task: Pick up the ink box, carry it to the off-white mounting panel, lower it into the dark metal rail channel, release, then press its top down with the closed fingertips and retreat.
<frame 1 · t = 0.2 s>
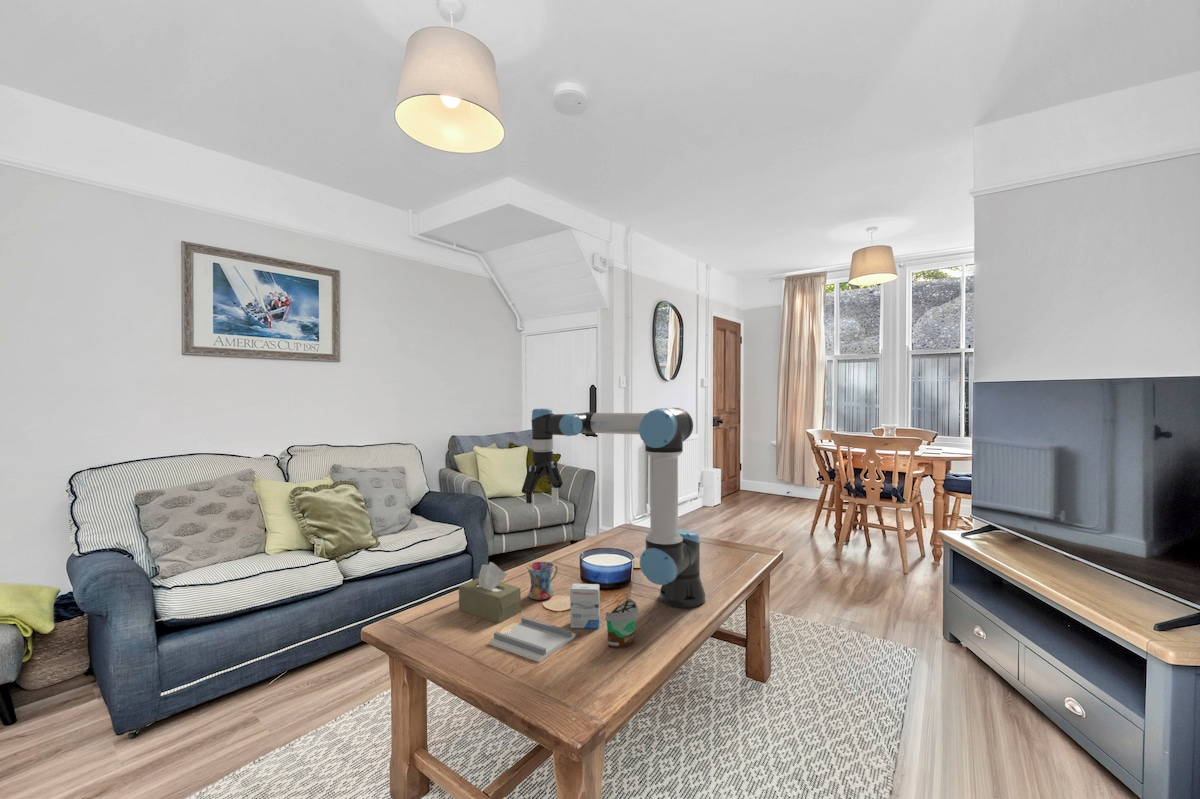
hand: (543, 508, 187), 28 cm above the table, fingers open, 13 cm apart
mug: (544, 596, 176), on the table
food container: (626, 643, 142), on the table
tissue box: (489, 612, 164), on the table
rail mount: (532, 640, 144), on the table
ink box: (585, 625, 153), on the table
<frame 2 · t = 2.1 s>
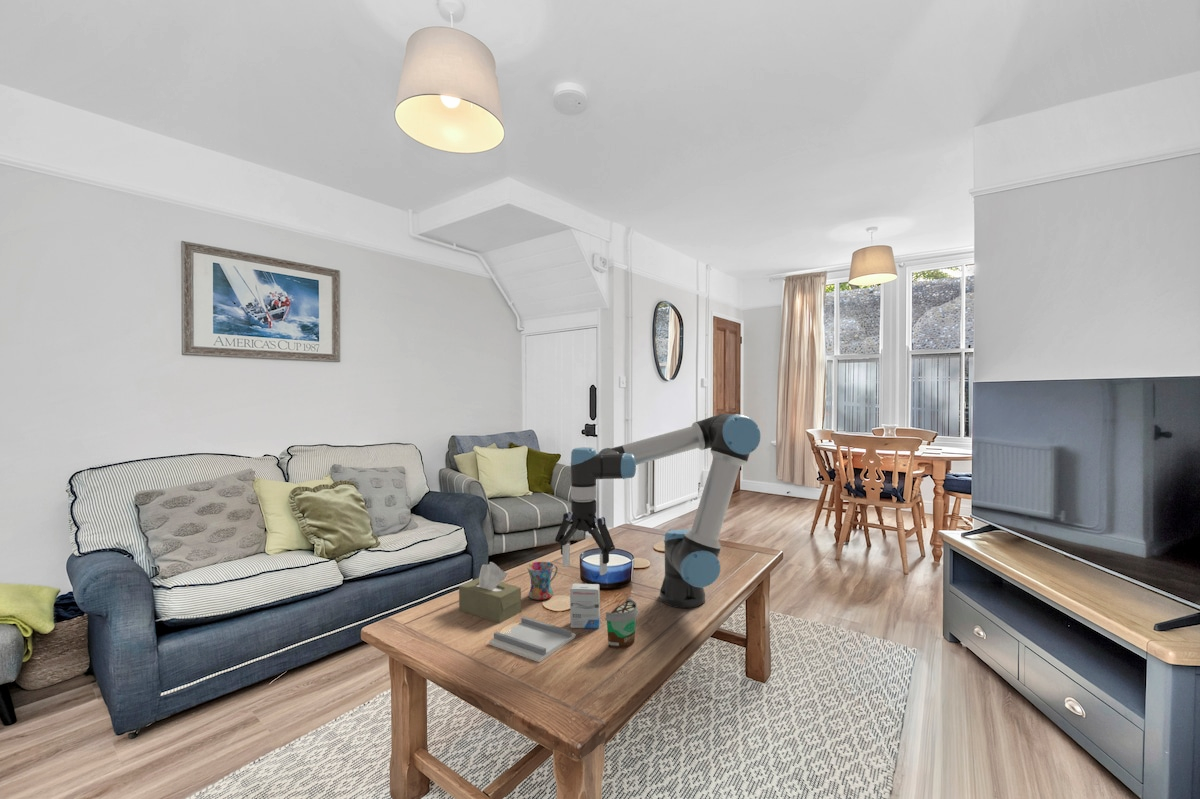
hand: (584, 569, 153), 17 cm above the table, fingers open, 13 cm apart
nothing on the table moved.
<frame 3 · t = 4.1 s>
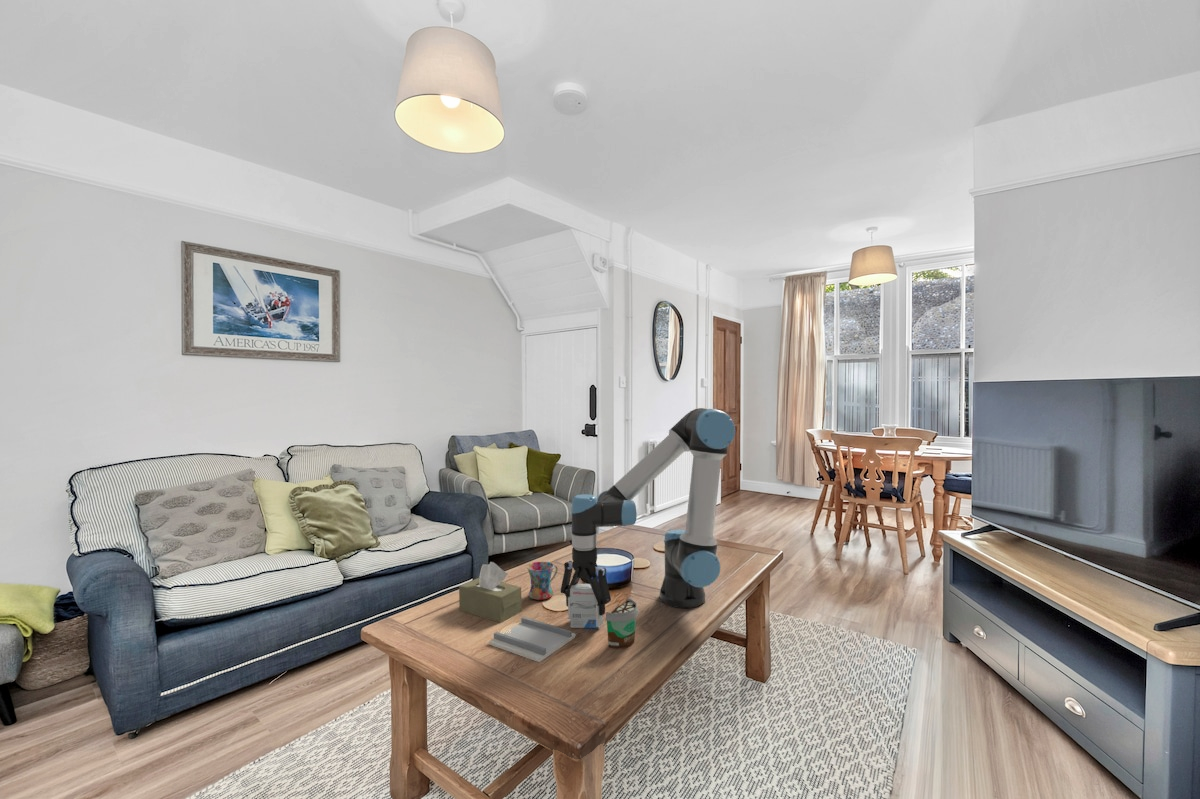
hand: (585, 621, 153), 1 cm above the table, fingers closed on ink box, 9 cm apart
ink box: (585, 625, 153), on the table, touching gripper
everything else where it was.
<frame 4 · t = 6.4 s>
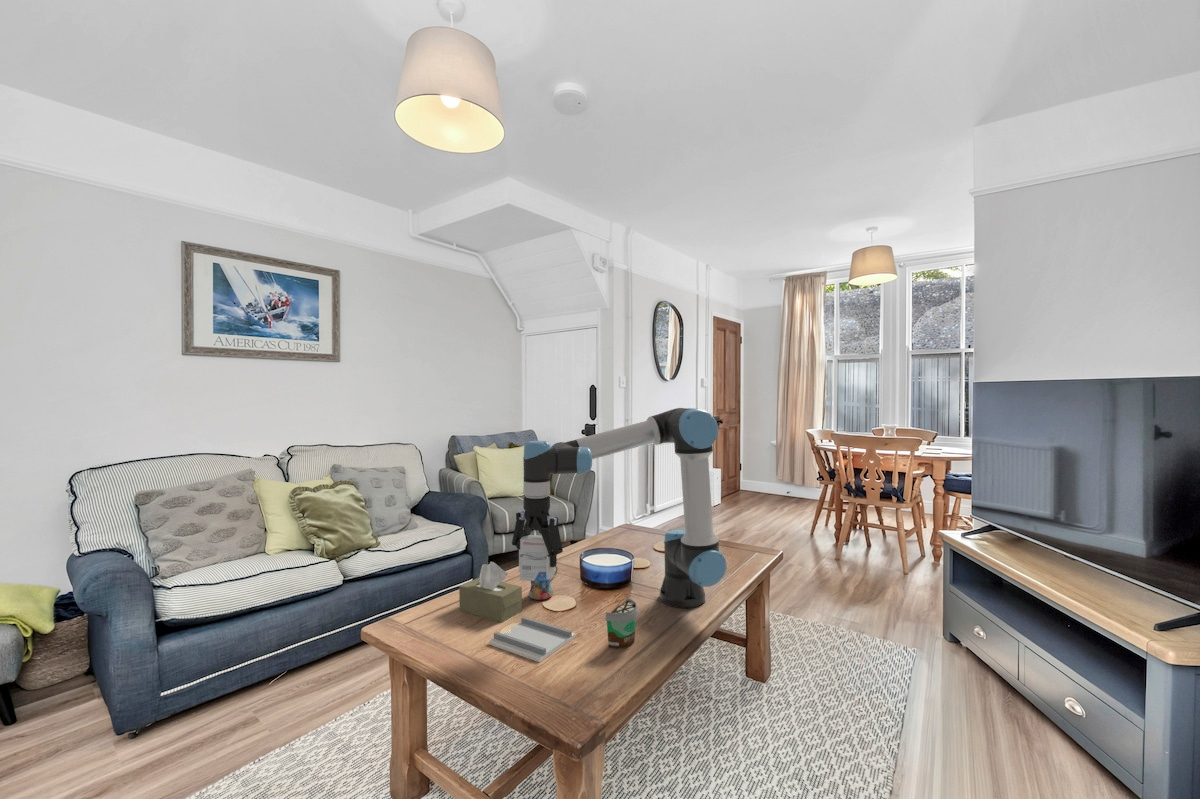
hand: (536, 574, 145), 18 cm above the table, fingers closed on ink box, 9 cm apart
ink box: (536, 578, 145), point 17 cm above the table, touching gripper
everything else where it was.
when the fingers open (4 cm above the table, at t = 9.1 s): ink box drops 2 cm, resting on rail mount.
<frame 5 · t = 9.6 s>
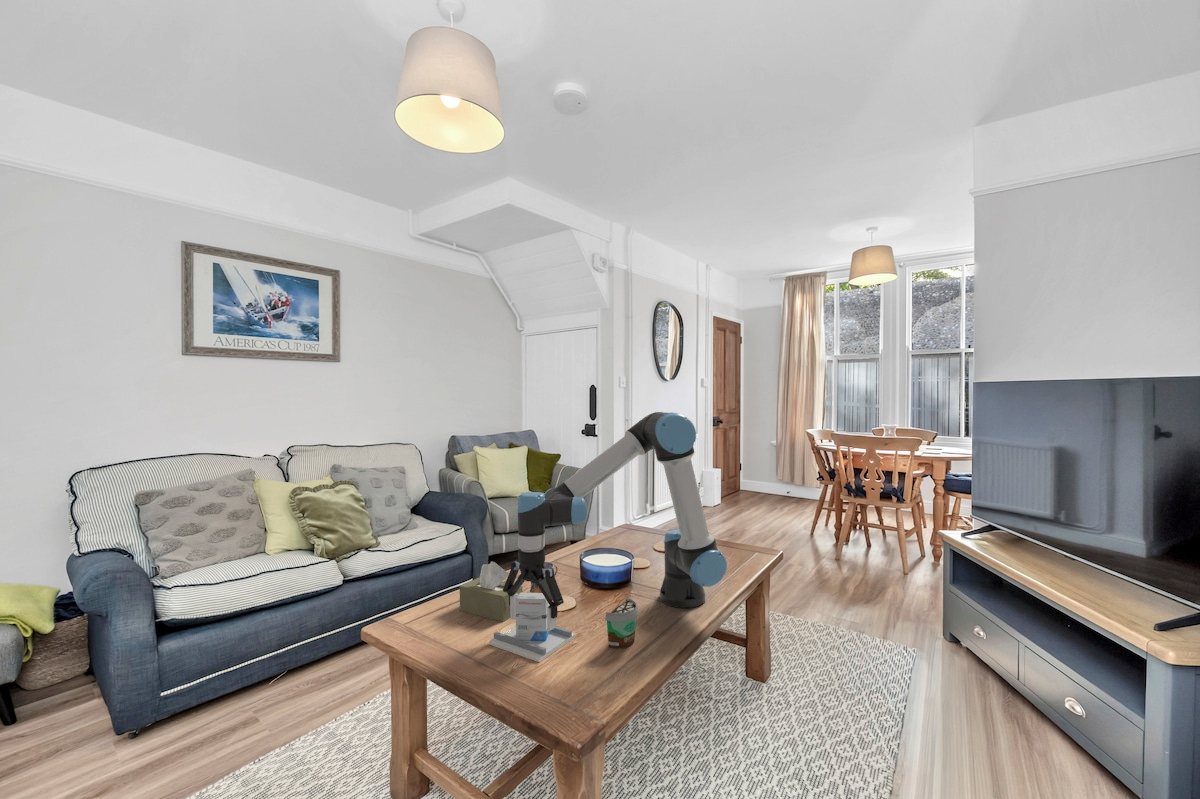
hand: (532, 623, 144), 5 cm above the table, fingers open, 13 cm apart
ink box: (532, 637, 144), point 1 cm above the table, touching rail mount
everything else where it was.
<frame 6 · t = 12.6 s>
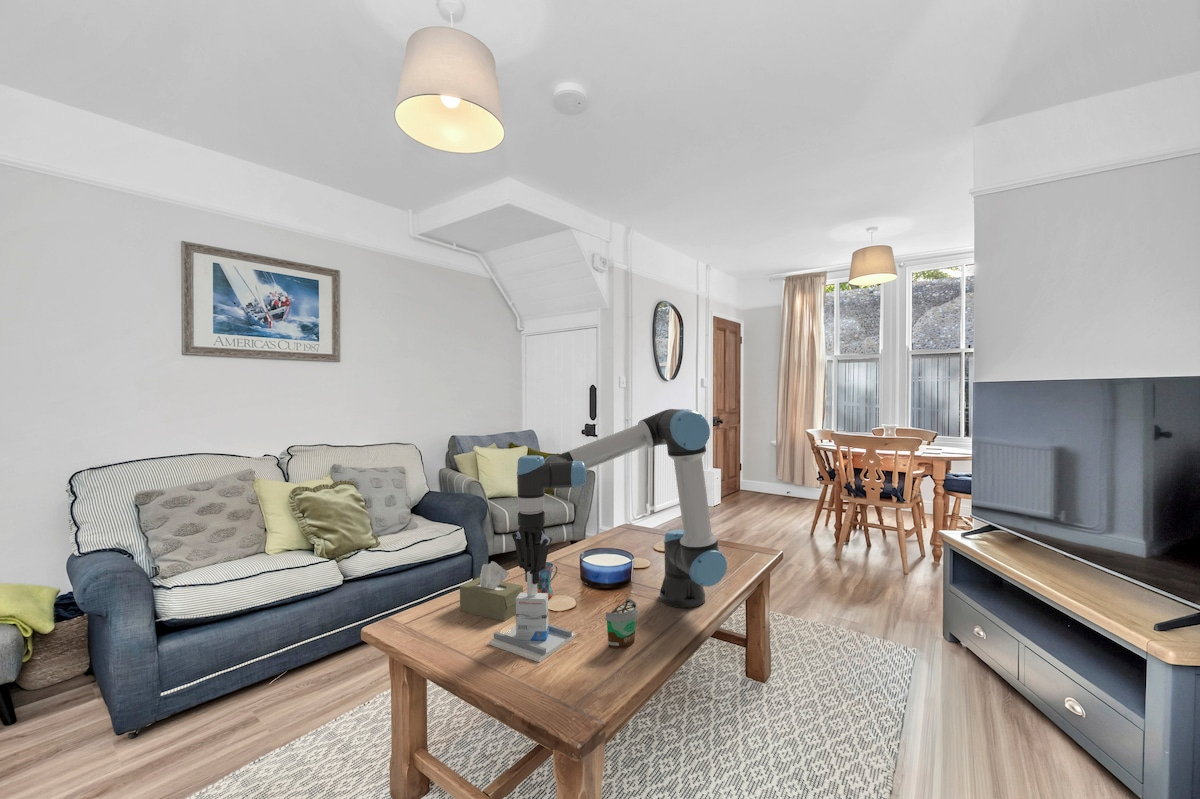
hand: (532, 594, 144), 13 cm above the table, fingers closed
nothing on the table moved.
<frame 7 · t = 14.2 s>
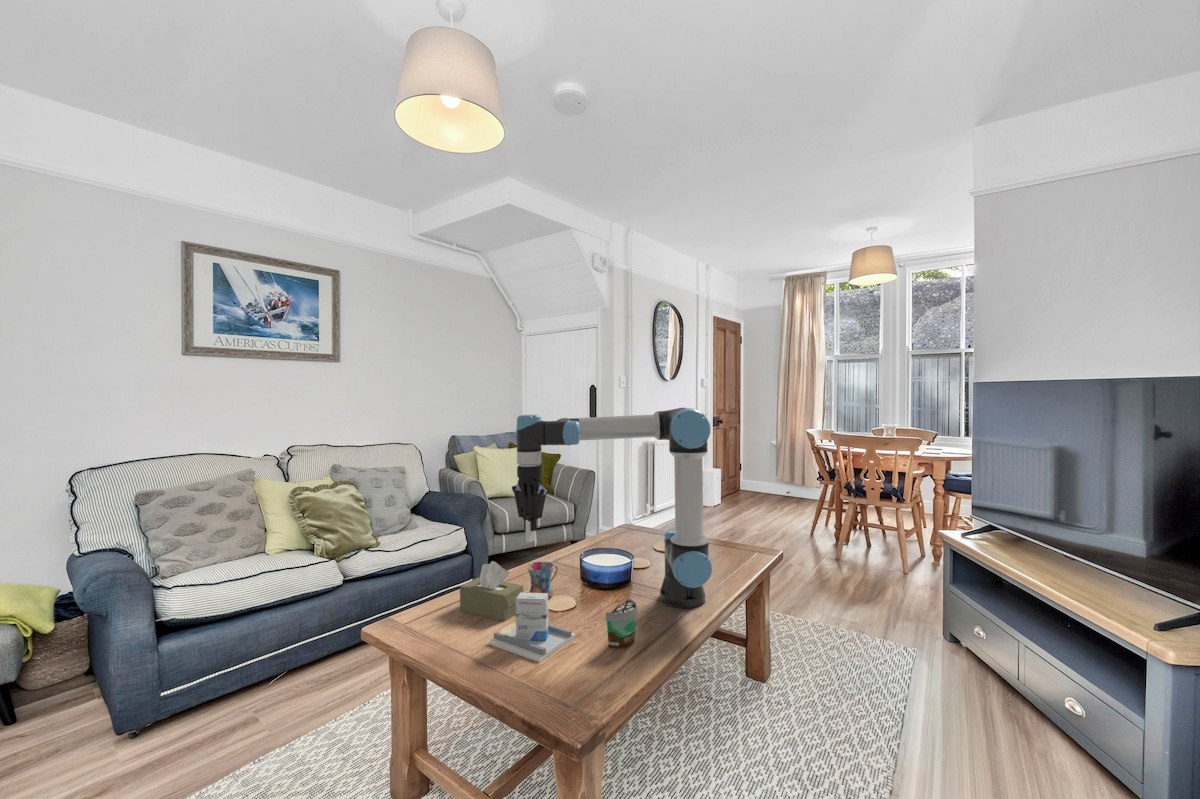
hand: (530, 540, 158), 24 cm above the table, fingers closed
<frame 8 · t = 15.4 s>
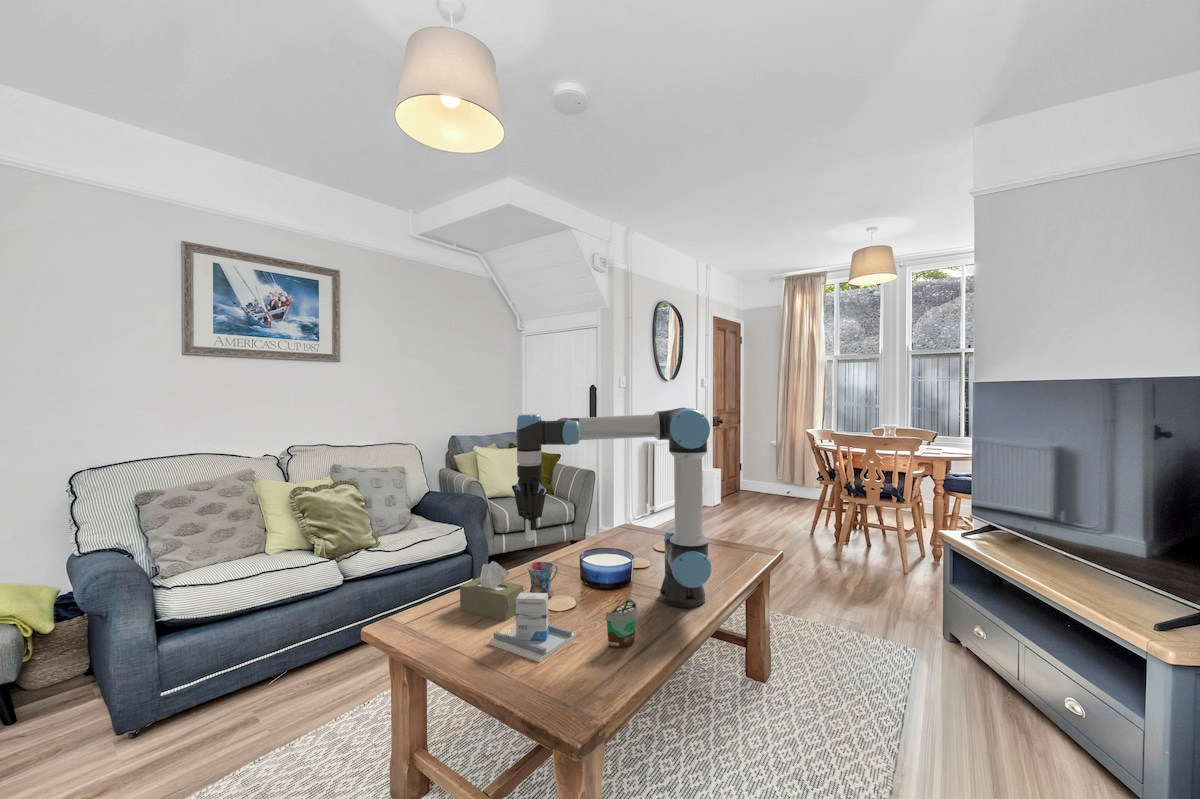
hand: (530, 539, 158), 24 cm above the table, fingers closed
at the end: ink box inside the target area on the rail mount (0.1 cm from its centre), point 0.9 cm above the rail mount's base; ink box tilted 0°; the gripper is holding nothing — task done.
